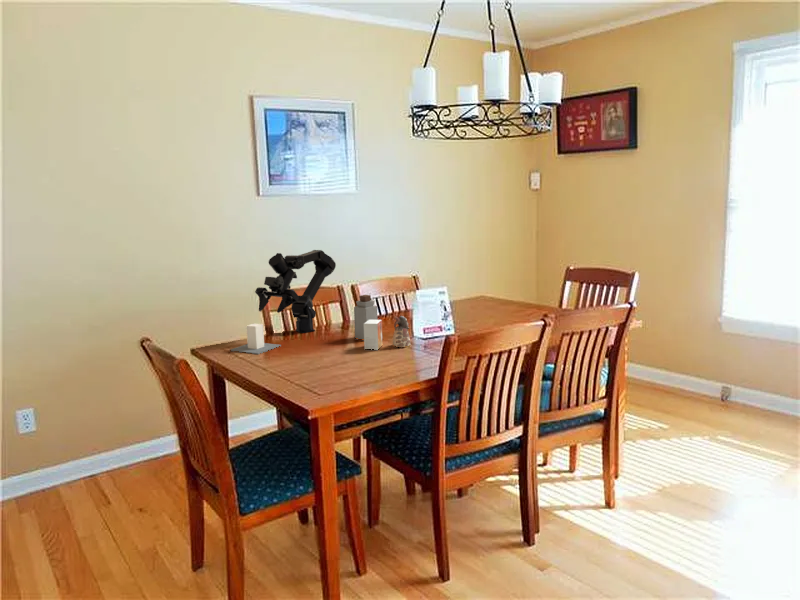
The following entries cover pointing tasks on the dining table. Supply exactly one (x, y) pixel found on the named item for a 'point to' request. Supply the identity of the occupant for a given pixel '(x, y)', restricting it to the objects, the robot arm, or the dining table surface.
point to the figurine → (401, 332)
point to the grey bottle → (363, 314)
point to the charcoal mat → (256, 351)
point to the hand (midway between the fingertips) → (268, 311)
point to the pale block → (255, 336)
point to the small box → (373, 334)
